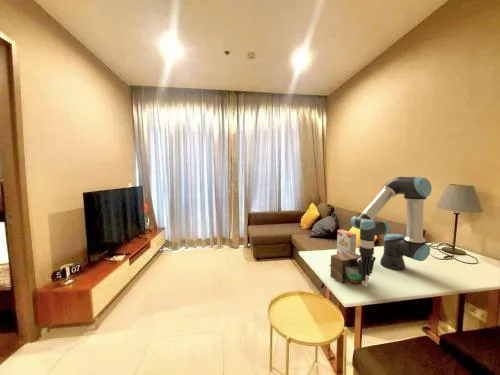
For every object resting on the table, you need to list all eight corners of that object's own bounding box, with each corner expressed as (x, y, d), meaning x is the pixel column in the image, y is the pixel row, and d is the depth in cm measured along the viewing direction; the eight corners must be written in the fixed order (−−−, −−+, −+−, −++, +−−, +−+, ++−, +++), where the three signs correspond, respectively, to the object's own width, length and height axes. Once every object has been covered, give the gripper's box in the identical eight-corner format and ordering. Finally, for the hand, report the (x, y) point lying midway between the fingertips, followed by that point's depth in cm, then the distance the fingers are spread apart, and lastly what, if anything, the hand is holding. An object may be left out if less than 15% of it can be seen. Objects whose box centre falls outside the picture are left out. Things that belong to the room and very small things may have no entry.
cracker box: (336, 254, 180) (337, 229, 178) (342, 253, 182) (343, 229, 180) (349, 261, 167) (350, 234, 165) (355, 260, 169) (356, 233, 167)
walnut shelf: (350, 271, 150) (351, 251, 149) (361, 277, 142) (362, 256, 141) (330, 276, 144) (331, 255, 143) (340, 283, 136) (341, 260, 134)
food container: (344, 284, 134) (345, 268, 133) (342, 279, 140) (343, 264, 139) (367, 286, 131) (367, 270, 130) (364, 281, 137) (364, 266, 136)
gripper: (369, 243, 133) (367, 280, 135) (352, 245, 129) (351, 284, 131) (380, 247, 126) (378, 286, 128) (363, 250, 122) (361, 291, 124)
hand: (364, 285), depth 129 cm, fingers closed
